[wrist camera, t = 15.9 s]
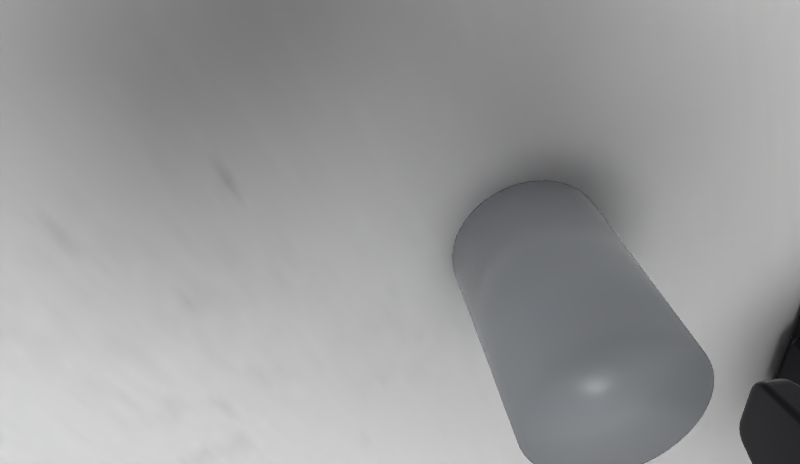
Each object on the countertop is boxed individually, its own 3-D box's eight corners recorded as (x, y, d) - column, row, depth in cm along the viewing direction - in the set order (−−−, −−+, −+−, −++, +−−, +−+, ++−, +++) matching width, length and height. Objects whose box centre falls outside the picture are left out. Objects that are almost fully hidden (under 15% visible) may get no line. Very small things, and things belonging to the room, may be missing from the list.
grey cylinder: (613, 174, 22) (736, 319, 16) (590, 301, 25) (689, 464, 19) (455, 187, 22) (525, 343, 16) (449, 316, 24) (507, 489, 19)
